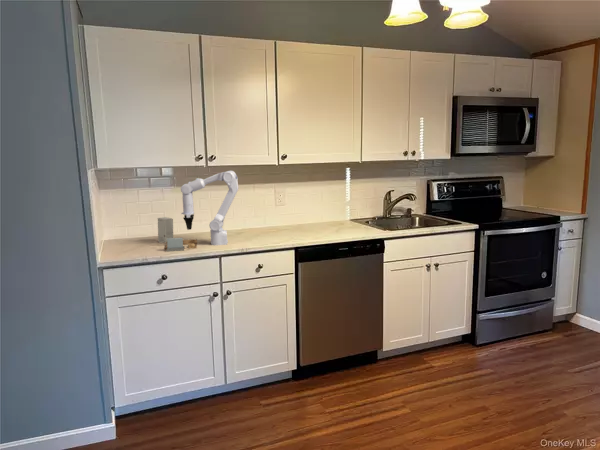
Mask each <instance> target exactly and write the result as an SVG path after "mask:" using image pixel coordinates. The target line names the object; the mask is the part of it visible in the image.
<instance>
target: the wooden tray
mask: <svg viewBox="0 0 600 450" xmlns="http://www.w3.org/2000/svg"><path fill="white" fill-rule="evenodd" d="M193 243H194V244H195V245H194V246H195V247H194V249H197V247H198V239H183V246H188V244H193ZM167 247H168V246H167V244H166V245H165V247H164V251H167ZM184 248H185V249H184V250H188V249H191V248H188V247H184Z"/></svg>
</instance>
